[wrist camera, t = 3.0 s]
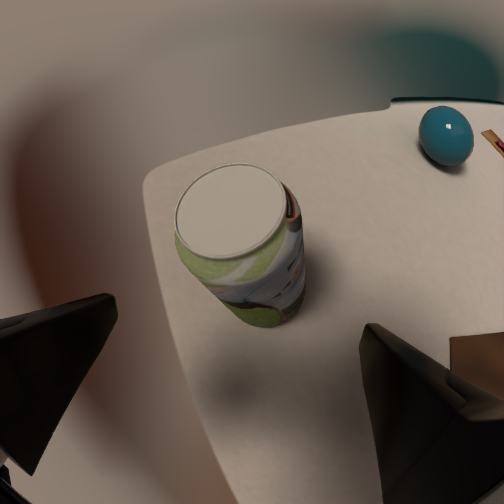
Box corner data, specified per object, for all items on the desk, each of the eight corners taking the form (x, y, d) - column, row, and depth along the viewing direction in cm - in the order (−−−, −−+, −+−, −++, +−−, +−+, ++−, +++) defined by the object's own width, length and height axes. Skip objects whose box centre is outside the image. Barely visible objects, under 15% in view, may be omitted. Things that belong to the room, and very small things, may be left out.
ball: (433, 136, 31) (452, 95, 24) (467, 174, 28) (492, 134, 21) (399, 140, 30) (417, 92, 23) (436, 183, 27) (464, 136, 20)
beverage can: (313, 316, 21) (364, 236, 10) (221, 344, 20) (173, 292, 9) (286, 248, 23) (301, 134, 13) (202, 271, 23) (156, 169, 12)
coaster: (504, 414, 14) (506, 414, 13) (445, 434, 15) (447, 434, 14) (504, 332, 18) (507, 331, 18) (449, 338, 19) (451, 337, 18)
